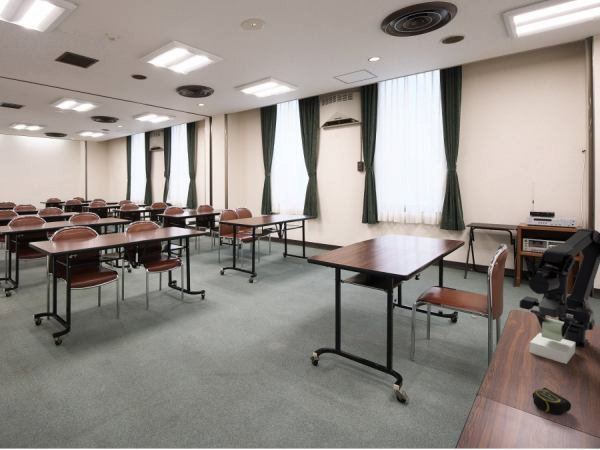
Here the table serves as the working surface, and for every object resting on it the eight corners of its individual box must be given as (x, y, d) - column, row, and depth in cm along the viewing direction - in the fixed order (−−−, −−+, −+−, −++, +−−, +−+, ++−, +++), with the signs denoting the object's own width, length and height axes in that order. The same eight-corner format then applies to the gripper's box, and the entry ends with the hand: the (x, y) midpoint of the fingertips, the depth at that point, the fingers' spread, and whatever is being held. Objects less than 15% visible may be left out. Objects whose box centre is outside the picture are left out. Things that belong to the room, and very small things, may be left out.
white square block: (539, 343, 121) (539, 332, 121) (574, 353, 114) (575, 342, 113) (529, 353, 115) (529, 342, 114) (566, 365, 107) (567, 352, 107)
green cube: (546, 331, 117) (547, 317, 116) (564, 336, 113) (565, 322, 112) (541, 336, 114) (542, 322, 113) (560, 341, 110) (560, 326, 109)
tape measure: (572, 414, 86) (573, 400, 85) (552, 421, 83) (553, 406, 83) (545, 398, 92) (546, 385, 91) (526, 403, 90) (526, 390, 89)
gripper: (514, 287, 113) (512, 332, 115) (586, 301, 99) (583, 352, 101) (526, 280, 120) (524, 322, 122) (595, 292, 106) (591, 340, 108)
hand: (553, 333), depth 113 cm, fingers closed on green cube, 5 cm apart
